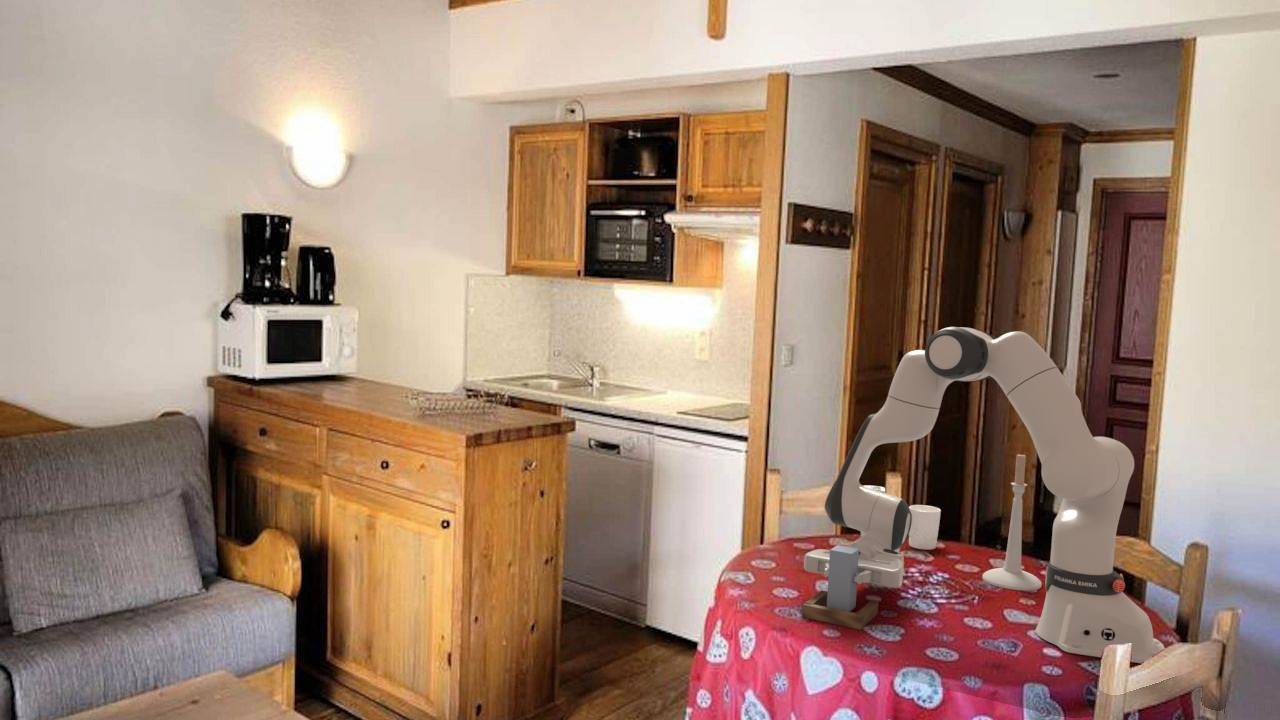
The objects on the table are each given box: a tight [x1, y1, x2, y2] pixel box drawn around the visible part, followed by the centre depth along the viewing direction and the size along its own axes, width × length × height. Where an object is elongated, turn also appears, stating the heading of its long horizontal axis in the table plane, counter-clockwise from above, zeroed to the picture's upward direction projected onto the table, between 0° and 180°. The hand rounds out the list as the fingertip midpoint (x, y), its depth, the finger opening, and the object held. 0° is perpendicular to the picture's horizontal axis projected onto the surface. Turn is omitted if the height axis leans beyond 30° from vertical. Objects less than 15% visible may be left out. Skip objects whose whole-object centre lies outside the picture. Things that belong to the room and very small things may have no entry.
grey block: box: [826, 544, 859, 612], centre depth 198 cm, size 4×4×12 cm
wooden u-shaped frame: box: [801, 589, 879, 631], centre depth 198 cm, size 12×11×2 cm
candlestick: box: [981, 453, 1043, 592], centre depth 225 cm, size 13×13×30 cm
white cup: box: [908, 504, 942, 551], centre depth 254 cm, size 8×8×10 cm
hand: (841, 577), depth 197 cm, fingers closed on grey block, 4 cm apart
